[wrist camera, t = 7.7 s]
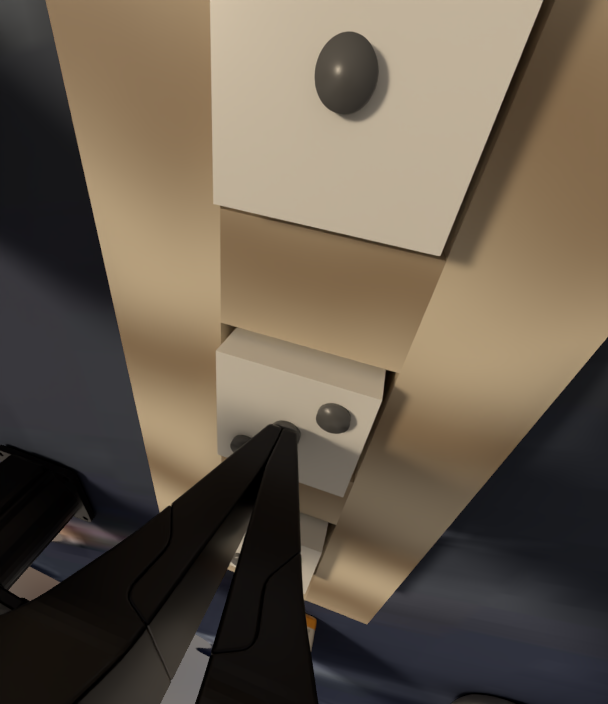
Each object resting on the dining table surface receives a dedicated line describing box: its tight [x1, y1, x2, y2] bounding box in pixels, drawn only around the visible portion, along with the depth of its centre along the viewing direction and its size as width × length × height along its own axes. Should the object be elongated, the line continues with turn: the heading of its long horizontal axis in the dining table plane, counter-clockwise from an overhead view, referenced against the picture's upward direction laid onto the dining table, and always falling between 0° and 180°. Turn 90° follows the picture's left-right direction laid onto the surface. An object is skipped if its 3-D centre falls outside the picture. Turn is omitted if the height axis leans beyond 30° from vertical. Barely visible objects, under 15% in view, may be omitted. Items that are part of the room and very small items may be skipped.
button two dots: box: [230, 512, 328, 594], centre depth 15 cm, size 4×4×3 cm
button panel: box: [46, 0, 608, 624], centre depth 11 cm, size 28×12×2 cm, turn 171°
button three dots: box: [216, 327, 386, 497], centre depth 11 cm, size 4×4×3 cm
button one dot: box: [210, 0, 543, 256], centre depth 6 cm, size 4×4×3 cm
